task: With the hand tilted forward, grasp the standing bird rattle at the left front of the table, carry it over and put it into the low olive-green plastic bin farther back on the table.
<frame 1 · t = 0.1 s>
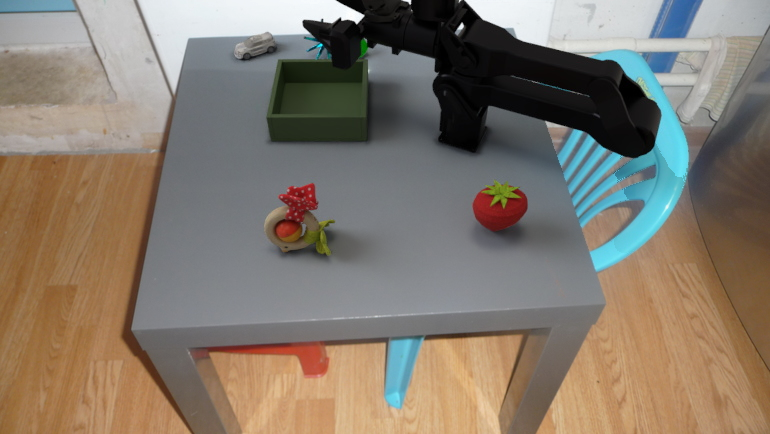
hand: (318, 8, 90), 17 cm above the table, tool horizontal, fingers open, 9 cm apart
stick construction toy: (335, 54, 111), on the table
strawberry: (494, 231, 83), on the table
toy car: (255, 52, 112), on the table
bin: (322, 110, 100), on the table
bird rattle: (303, 248, 81), on the table
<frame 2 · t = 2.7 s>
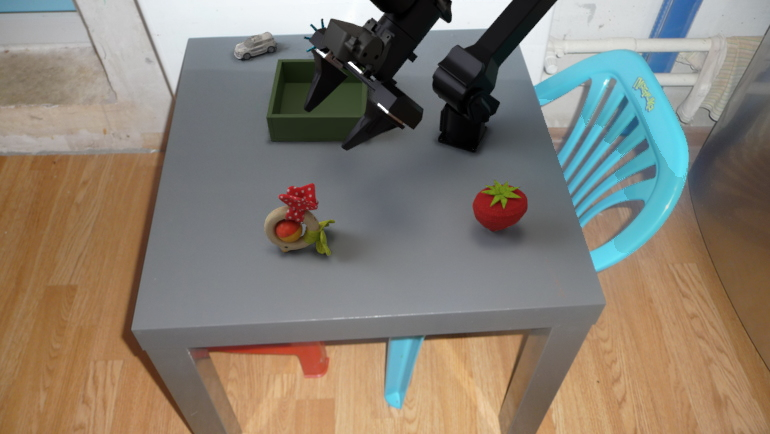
hand: (324, 129, 76), 14 cm above the table, tool tilted 50°, fingers open, 9 cm apart
nothing on the table moved.
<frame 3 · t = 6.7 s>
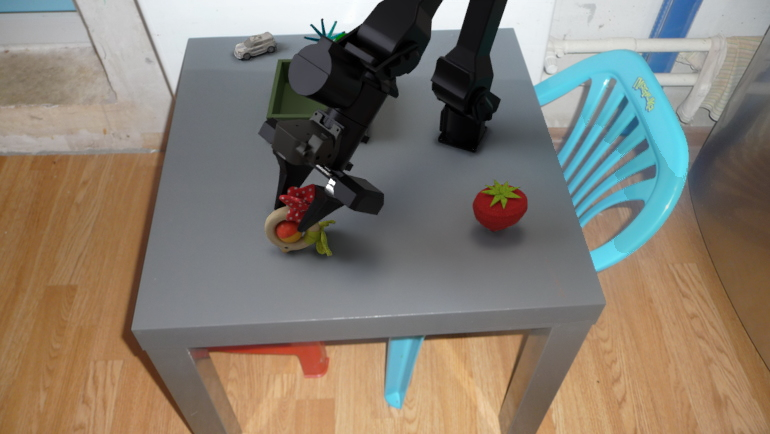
hand: (288, 221, 75), 7 cm above the table, tool tilted 45°, fingers closed on bird rattle, 4 cm apart
bird rattle: (303, 248, 81), on the table, touching gripper
everything else where it was.
when the fingers open (7 cm above the table, at t = 16.0 s): bird rattle stays where it is, resting on bin.
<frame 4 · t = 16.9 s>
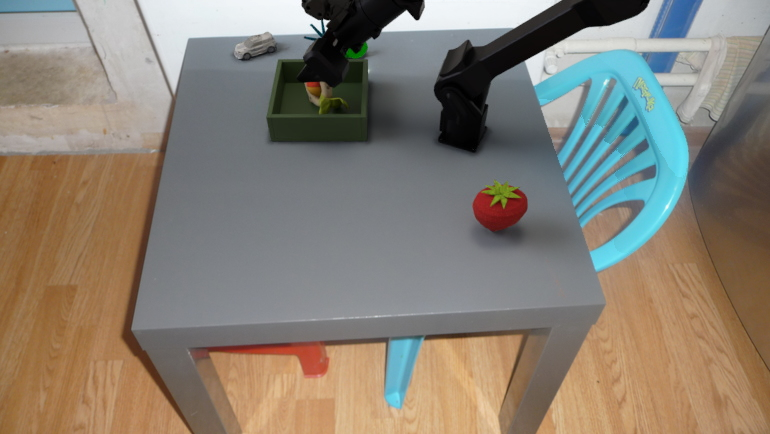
hand: (308, 63, 93), 9 cm above the table, tool tilted 45°, fingers open, 9 cm apart
bird rattle: (322, 109, 100), resting on bin
everything else where it was.
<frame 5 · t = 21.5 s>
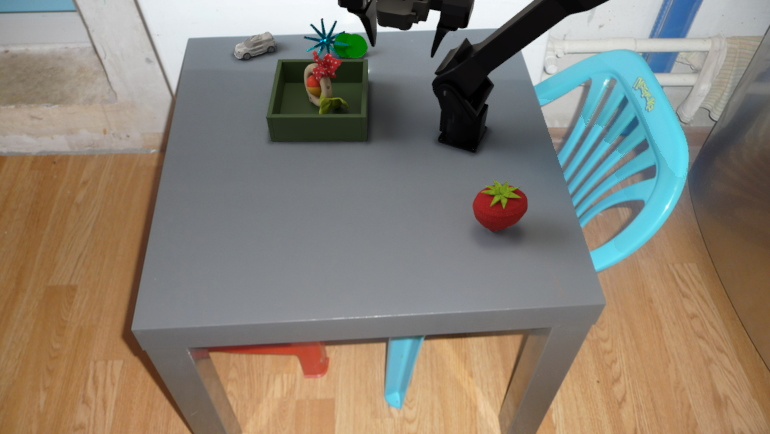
hand: (402, 50, 89), 13 cm above the table, tool pointing down, fingers open, 9 cm apart
nothing on the table moved.
at the end: bird rattle inside the target area in the bin (0.4 cm from its centre), point 0.4 cm above the bin's base; the gripper is holding nothing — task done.
